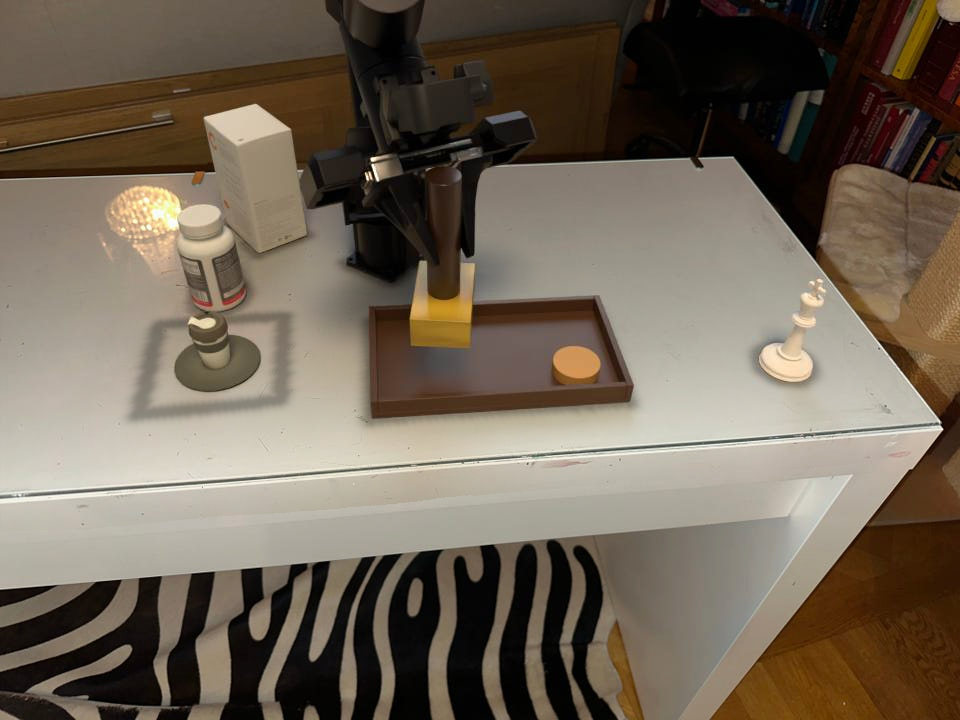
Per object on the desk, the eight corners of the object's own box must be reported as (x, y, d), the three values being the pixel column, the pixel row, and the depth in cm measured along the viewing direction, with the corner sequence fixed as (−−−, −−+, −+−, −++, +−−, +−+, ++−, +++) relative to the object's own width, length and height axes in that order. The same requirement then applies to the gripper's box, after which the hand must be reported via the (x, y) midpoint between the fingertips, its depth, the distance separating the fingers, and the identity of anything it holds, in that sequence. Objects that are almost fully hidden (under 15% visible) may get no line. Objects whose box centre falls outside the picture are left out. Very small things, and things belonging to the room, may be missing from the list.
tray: (372, 418, 65) (370, 401, 64) (370, 322, 75) (368, 305, 74) (630, 402, 68) (634, 385, 67) (596, 310, 78) (599, 294, 76)
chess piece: (784, 388, 70) (821, 304, 63) (747, 356, 73) (778, 272, 66) (822, 372, 72) (862, 289, 65) (785, 342, 75) (819, 259, 68)
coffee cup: (280, 400, 67) (272, 359, 63) (139, 413, 65) (122, 372, 62) (284, 315, 75) (276, 275, 72) (159, 325, 74) (145, 284, 70)
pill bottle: (243, 277, 80) (225, 196, 73) (250, 307, 76) (231, 225, 70) (190, 287, 78) (167, 204, 72) (194, 318, 75) (170, 234, 68)
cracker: (542, 373, 70) (543, 363, 69) (568, 348, 72) (569, 339, 71) (582, 394, 68) (584, 385, 67) (607, 368, 70) (609, 359, 69)
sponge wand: (420, 286, 69) (415, 147, 59) (474, 289, 69) (478, 150, 59) (410, 346, 63) (403, 202, 53) (469, 349, 63) (473, 206, 53)
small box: (308, 236, 86) (293, 128, 77) (258, 255, 83) (235, 145, 74) (274, 206, 91) (256, 101, 82) (225, 223, 87) (200, 116, 79)
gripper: (290, 42, 49) (366, 272, 49) (535, 5, 55) (600, 207, 56) (272, 110, 59) (335, 300, 59) (481, 72, 66) (536, 242, 66)
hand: (453, 261), depth 60 cm, fingers closed on sponge wand, 3 cm apart
